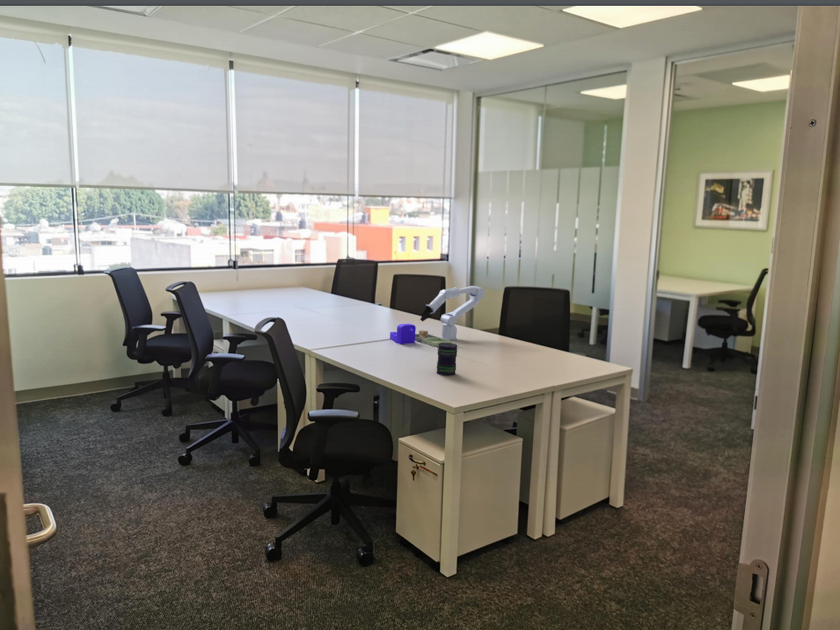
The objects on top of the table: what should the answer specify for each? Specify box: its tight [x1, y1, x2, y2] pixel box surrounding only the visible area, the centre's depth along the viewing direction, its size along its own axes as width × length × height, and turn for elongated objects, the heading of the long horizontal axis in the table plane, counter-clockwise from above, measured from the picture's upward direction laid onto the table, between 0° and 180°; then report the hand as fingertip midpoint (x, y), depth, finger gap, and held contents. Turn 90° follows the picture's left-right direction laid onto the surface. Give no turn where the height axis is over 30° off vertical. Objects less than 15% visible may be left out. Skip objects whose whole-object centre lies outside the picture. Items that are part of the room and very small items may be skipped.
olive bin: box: [421, 336, 453, 348], centre depth 391 cm, size 14×13×2 cm
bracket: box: [389, 323, 417, 345], centre depth 393 cm, size 18×11×12 cm, turn 37°
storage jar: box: [436, 342, 458, 377], centre depth 318 cm, size 10×10×15 cm
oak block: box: [418, 329, 429, 338], centre depth 402 cm, size 4×4×5 cm
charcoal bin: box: [415, 333, 438, 343], centre depth 402 cm, size 14×13×2 cm
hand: (421, 318), depth 397 cm, fingers open, 7 cm apart
